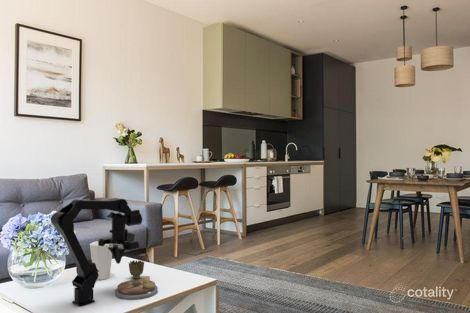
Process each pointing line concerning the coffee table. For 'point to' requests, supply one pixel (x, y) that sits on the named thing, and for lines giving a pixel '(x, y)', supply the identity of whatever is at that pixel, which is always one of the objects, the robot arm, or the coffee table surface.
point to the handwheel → (136, 286)
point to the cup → (101, 259)
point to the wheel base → (137, 296)
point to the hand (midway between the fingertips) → (118, 263)
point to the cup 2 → (136, 268)
